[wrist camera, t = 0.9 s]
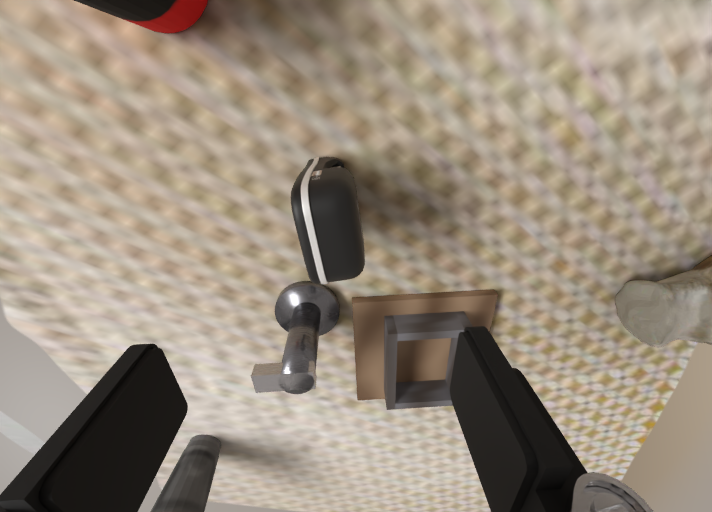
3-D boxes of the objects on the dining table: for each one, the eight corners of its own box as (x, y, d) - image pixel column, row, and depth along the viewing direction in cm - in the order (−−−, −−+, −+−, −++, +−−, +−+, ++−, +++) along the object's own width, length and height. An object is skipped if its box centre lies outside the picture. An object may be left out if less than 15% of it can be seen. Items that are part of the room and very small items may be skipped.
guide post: (337, 279, 32) (335, 347, 23) (341, 329, 35) (340, 406, 26) (271, 283, 32) (244, 353, 23) (281, 333, 35) (261, 411, 26)
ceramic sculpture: (693, 311, 24) (870, 270, 24) (604, 261, 32) (738, 231, 32) (657, 394, 29) (804, 360, 29) (587, 334, 37) (703, 307, 37)
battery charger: (360, 223, 29) (371, 288, 19) (322, 229, 29) (312, 297, 19) (350, 149, 26) (355, 179, 16) (306, 156, 26) (284, 190, 16)
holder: (493, 289, 33) (511, 311, 30) (473, 386, 41) (485, 413, 37) (351, 297, 33) (353, 321, 29) (357, 393, 40) (358, 421, 37)
